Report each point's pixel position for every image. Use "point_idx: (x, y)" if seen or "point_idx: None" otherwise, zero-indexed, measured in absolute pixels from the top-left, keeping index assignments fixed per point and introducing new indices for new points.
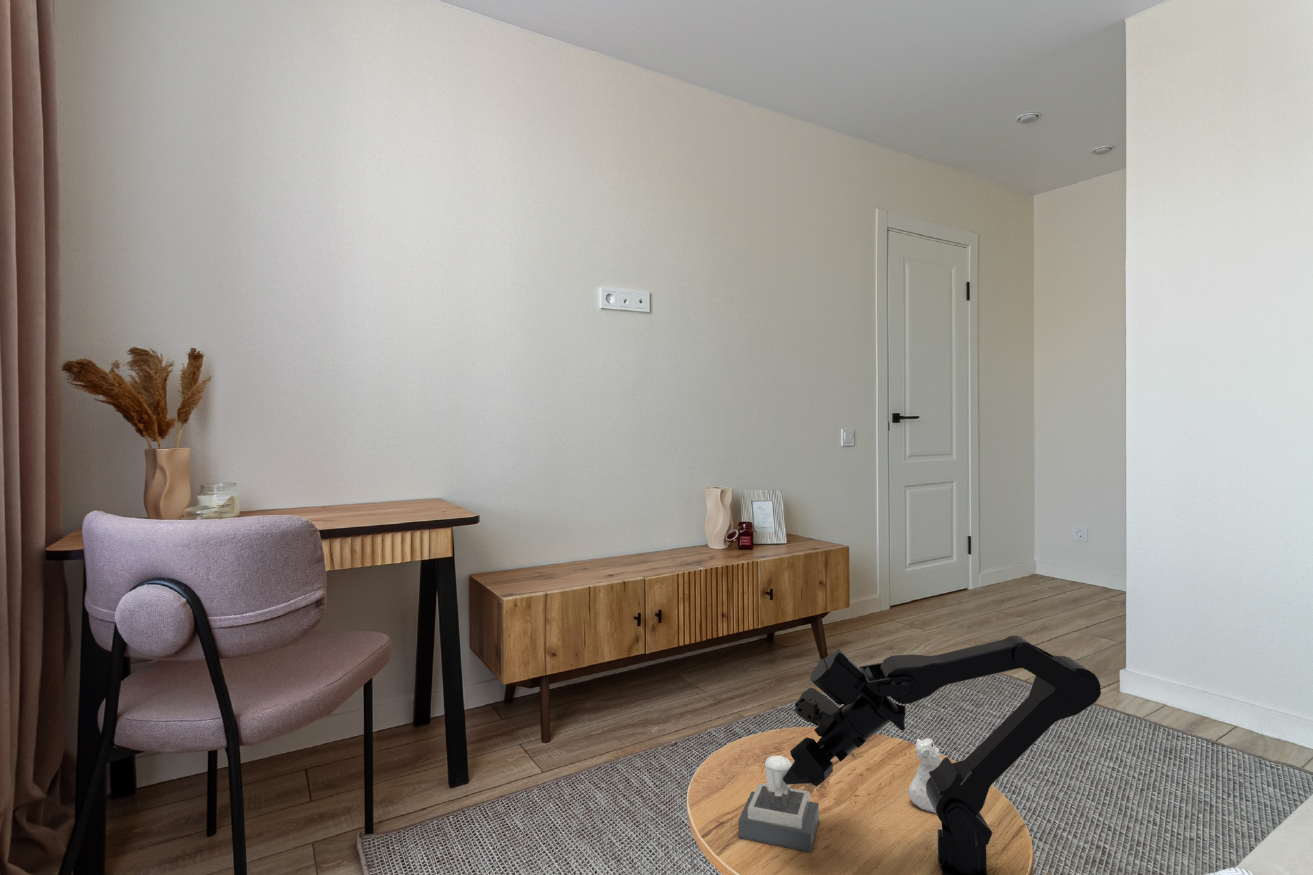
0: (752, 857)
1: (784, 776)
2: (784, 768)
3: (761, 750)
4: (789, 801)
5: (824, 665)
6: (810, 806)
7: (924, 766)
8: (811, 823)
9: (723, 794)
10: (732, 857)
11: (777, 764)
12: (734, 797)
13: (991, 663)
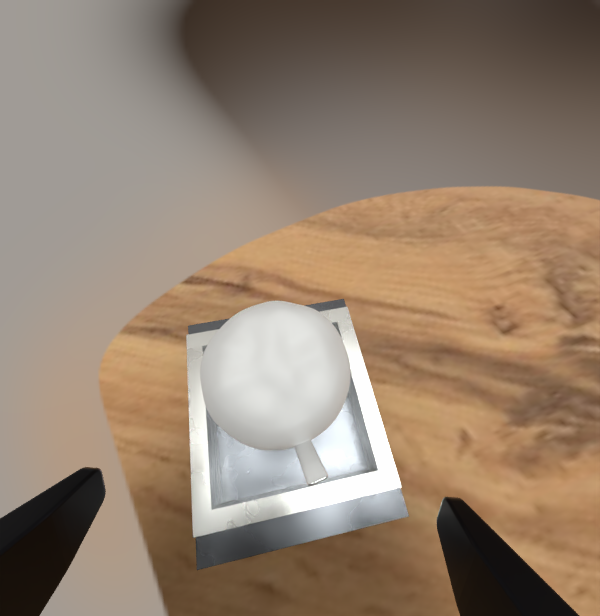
0: (135, 403)
1: (46, 490)
2: (224, 424)
3: (587, 239)
4: (355, 415)
5: None
6: (369, 495)
7: None
8: (264, 544)
9: (352, 247)
10: (120, 361)
11: (212, 378)
12: (355, 270)
13: None
